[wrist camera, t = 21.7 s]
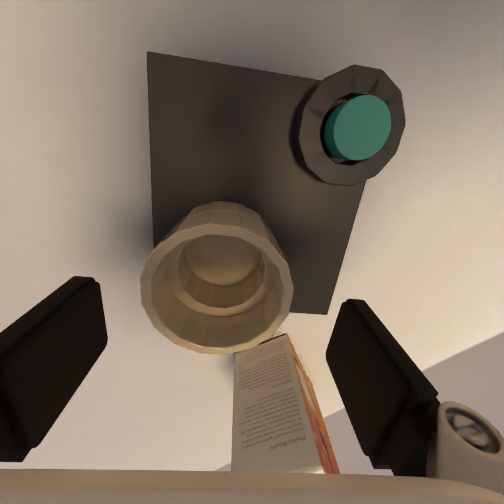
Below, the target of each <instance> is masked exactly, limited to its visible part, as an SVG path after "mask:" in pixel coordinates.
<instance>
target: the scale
mask: <svg viewBox="0 0 504 504" xmlns="http://www.w3.org/2000/svg"><path fill="white" fill-rule="evenodd" d="M147 73H148V102H149V131H150V159H151V188H152V217H153V246H154V249H155V248H156V247H157V245H158V244H159V243H160V242H161V241H162V240H163V238H164V237H165V236H166V235H167V234H168V233H169V231H170V230H171V229H172V228H173V227H174V226H175V224H176V223H177V222H178V221H179V220H180V219H181V218H182V217H184V216H185V215H186V214H187V213H188V212H190V211H191V210H192V209H193V208H195V207H197V206H201V205H204V204H207V203H211V202H214V201H224V202H233V203H239V204H242V205H244V206H246V207H248V208H249V209H251V210H253V211H255V212H257V213H258V214H259V215H261V217H262V218H263V219H264V221H265V222H266V223H267V224H268V226H269V227H270V228H271V229H272V231H273V233H274V236H275V238H276V240H277V242H278V244H279V246H280V249H281V251H282V253H283V255H284V257H285V260H286V262H287V264H288V267H289V271H290V275H291V280H292V284H293V288H294V289H293V290H294V291H293V296H292V301H291V305H290V310H289V312H292V313H307V314H322V315H327V313H328V310H329V307H330V303H331V300H332V296H333V293H334V289H335V286H336V282H337V279H338V276H339V272H340V269H341V265H342V262H343V258H344V255H345V251H346V248H347V245H348V241H349V238H350V234H351V231H352V227H353V224H354V220H355V217H356V214H357V210H358V207H359V203H360V200H361V196H362V193H363V190H364V186H365V183H366V180H367V179H369V178H372V177H374V176H375V175H377V174H378V173H379V172H380V171H381V170H382V168H383V167H384V166H385V165H386V164H387V163H388V162H389V161H390V159H391V158H392V157H393V156H394V155H395V153H396V152H397V149H398V146H399V143H400V140H401V136H402V133H403V130H404V127H405V114H404V107H403V100H402V94H401V91H400V90H399V88H398V87H397V86H396V85H395V84H394V83H393V82H392V80H391V79H390V78H389V77H388V76H387V75H386V73H385V72H384V71H382V70H381V69H376V68H370V67H364V66H359V65H353V66H349V67H347V68H345V69H343V70H341V71H339V72H337V73H335V74H333V75H330V76H328V77H326V78H325V79H323V80H322V81H321V80H315V79H309V78H303V77H297V76H291V75H285V74H279V73H273V72H267V71H261V70H255V69H249V68H243V67H238V66H232V65H226V64H220V63H214V62H208V61H202V60H196V59H190V58H184V57H178V56H172V55H166V54H160V53H154V52H147ZM361 95H373V96H376V97H378V98H380V99H381V100H382V101H383V102H384V103H385V104H386V105H387V107H388V109H389V112H390V115H391V129H390V133H389V136H388V138H387V140H386V142H385V144H384V145H383V146H382V148H381V149H380V150H379V151H378V152H377V153H376V154H374V155H373V156H371V157H369V158H367V159H364V160H343V159H339V158H336V157H335V156H333V155H332V154H331V153H330V152H329V151H328V149H327V147H326V145H325V142H324V127H325V124H326V121H327V119H328V117H329V115H330V114H331V113H332V111H333V110H334V109H335V108H336V107H338V106H339V105H341V104H342V103H344V102H347V101H349V100H351V99H353V98H355V97H358V96H361Z"/></svg>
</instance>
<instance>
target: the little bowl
mask: <svg viewBox="0 0 504 504" xmlns="http://www.w3.org/2000/svg"><path fill="white" fill-rule="evenodd" d="M140 285H141V301H142V306H143V308H144V310H145V311H146V313H147V315H148V317H149V319H150V320H151V322H152V324H153V326H154V327H155V328H156V329H157V330H158V331H159V332H161V333H162V334H163V335H164V336H165V337H167V338H168V339H169V340H170V341H172V342H173V343H174V344H176V345H179V346H182V347H184V348H187V349H190V350H193V351H195V352H198V353H204V354H225V355H226V354H231V353H235V352H239V351H243V350H247V349H251V348H253V347H255V346H256V345H258V344H260V343H261V342H263V341H264V340H266V339H267V338H269V337H270V336H272V335H273V334H274V333H275V332H276V331H277V329H278V328H279V327H280V325H281V324H282V322H283V321H284V320H285V318H286V317H287V316H288V314H289V310H290V305H291V301H292V296H293V291H294V290H293V289H294V288H293V284H292V280H291V275H290V271H289V267H288V264H287V262H286V260H285V257H284V255H283V253H282V251H281V249H280V246H279V244H278V242H277V240H276V238H275V236H274V233H273V231H272V229H271V228H270V227H269V226H268V224H267V223H266V222H265V221H264V219H263V218H262V217H261V215H259V214H258V213H257V212H255V211H253V210H251V209H249V208H248V207H246V206H244V205H242V204H239V203H233V202H224V201H214V202H211V203H207V204H204V205H201V206H197V207H195V208H193V209H192V210H191V211H190V212H188V213H187V214H186V215H185V216H184V217H182V218H181V219H180V220H179V221H178V222H177V223H176V224H175V226H174V227H173V228H172V229H171V230H170V231H169V233H168V234H167V235H166V236H165V237H164V238H163V240H162V241H161V242H160V243H159V244H158V245H157V247H156V248H155V249H154V250H153V251H152V253H151V254H150V257H149V259H148V261H147V263H146V266H145V268H144V270H143V272H142V275H141V278H140Z"/></svg>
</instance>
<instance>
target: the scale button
mask: <svg viewBox="0 0 504 504" xmlns="http://www.w3.org/2000/svg"><path fill="white" fill-rule="evenodd" d="M390 129H391V115H390V112H389V109H388V107H387V105H386V104H385V103H384V102H383V101H382V100H381V99H380V98H378V97H376V96H373V95H361V96H358V97H355V98H353V99H351V100H349V101H347V102H344V103H342V104H341V105H339V106H338V107H336V108H335V109H334V110H333V111H332V113H331V114H330V115H329V117H328V119H327V121H326V124H325V127H324V142H325V145H326V147H327V149H328V151H329V152H330V153H331V154H332V155H333V156H335V157H336V158H339V159H343V160H364V159H367V158H369V157H371V156H373V155H374V154H376V153H377V152H378V151H379V150H380V149H381V148H382V146H383V145H384V144H385V142H386V140H387V138H388V136H389V133H390Z"/></svg>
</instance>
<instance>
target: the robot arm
mask: <svg viewBox="0 0 504 504" xmlns="http://www.w3.org/2000/svg"><path fill="white" fill-rule="evenodd" d="M107 341H108V336H107V330H106V323H105V316H104V310H103V303H102V296H101V290H100V284H99V283H98V282H95V279H94V278H92V277H81V276H74V277H72V278H71V279H69V280H68V281H67V282H66V283H64V284H63V285H62V286H60V287H59V288H58V289H57V290H55V291H54V292H53V293H51V294H50V295H49V296H47V297H46V298H45V299H44V300H42V301H41V302H40V303H38V304H37V305H36V306H34V307H33V308H32V309H31V310H29V311H28V312H27V313H25V314H24V315H23V316H21V317H20V318H19V319H18V320H16V321H15V322H14V323H12V324H11V325H10V326H8V327H7V328H6V329H5V330H3V331H2V332H1V333H0V462H23V460H24V459H25V457H26V456H27V454H28V453H29V451H30V450H31V449H32V448H35V447H37V446H38V445H39V444H40V443H41V442H42V440H43V439H44V437H45V436H46V434H47V433H48V431H49V430H50V428H51V427H52V425H53V424H54V423H55V421H56V420H57V418H58V417H59V415H60V414H61V412H62V411H63V409H64V408H65V406H66V405H67V403H68V402H69V400H70V399H71V397H72V396H73V395H74V393H75V392H76V390H77V389H78V387H79V386H80V384H81V383H82V381H83V380H84V378H85V377H86V375H87V374H88V372H89V371H90V369H91V368H92V367H93V365H94V364H95V362H96V361H97V359H98V358H99V356H100V355H101V353H102V352H103V350H104V349H105V347H106V345H107ZM326 361H327V363H328V366H329V368H330V371H331V373H332V376H333V378H334V381H335V383H336V386H337V389H338V391H339V394H340V396H341V399H342V401H343V404H344V406H345V409H346V411H347V413H348V416H349V419H350V421H351V424H352V426H353V429H354V431H355V434H356V436H357V439H358V441H359V444H360V446H361V449H362V451H363V453H364V454H365V455H366V456H369V458H370V461H371V463H372V466H373V468H374V469H391V470H392V472H393V474H394V476H384V475H362V474H361V475H360V474H318V473H275V472H221V471H220V472H219V471H162V470H82V469H0V504H504V438H503V437H502V435H501V434H500V432H499V431H498V430H497V429H496V428H495V427H494V426H493V425H492V424H491V423H490V422H489V421H488V420H487V419H485V418H484V417H483V416H482V415H480V414H479V413H477V412H476V411H474V410H472V409H471V408H469V407H467V406H465V405H462V404H460V403H456V402H452V401H448V402H447V401H446V402H443V403H440V402H439V401H438V400H437V398H436V396H437V395H438V392H437V391H436V389H435V388H434V387H433V386H432V385H431V383H430V382H429V381H428V380H427V378H426V377H425V376H424V374H423V373H422V372H421V371H420V369H419V368H418V367H417V366H416V364H415V363H414V362H413V361H412V359H411V358H410V357H409V356H408V355H407V353H406V352H405V351H404V350H403V348H402V347H401V346H400V345H399V343H398V342H397V341H396V340H395V338H394V337H393V336H392V335H391V333H390V332H389V331H388V330H387V328H386V327H385V326H384V325H383V323H382V322H381V321H380V320H379V318H378V317H377V316H376V315H375V313H374V312H373V311H372V310H371V308H370V307H369V306H368V305H367V303H366V302H365V301H364V300H358V299H347V301H346V302H343V303H342V305H341V308H340V311H339V314H338V317H337V320H336V323H335V326H334V329H333V332H332V335H331V338H330V341H329V344H328V347H327V350H326Z"/></svg>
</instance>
